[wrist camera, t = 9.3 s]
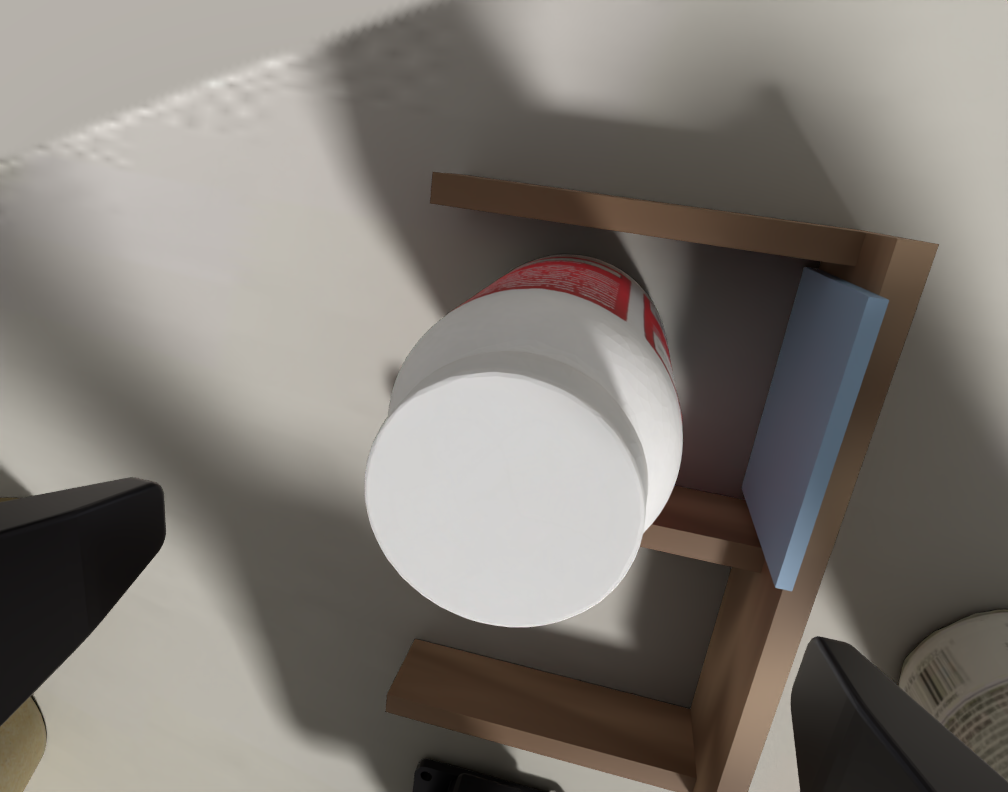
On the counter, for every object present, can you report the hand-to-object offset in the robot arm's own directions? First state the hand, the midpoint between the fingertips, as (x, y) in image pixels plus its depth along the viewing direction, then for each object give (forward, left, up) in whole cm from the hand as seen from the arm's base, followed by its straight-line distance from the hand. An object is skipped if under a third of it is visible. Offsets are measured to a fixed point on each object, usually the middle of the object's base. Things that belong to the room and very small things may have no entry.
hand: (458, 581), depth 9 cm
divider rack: (-4, -2, -13) cm, 14 cm away
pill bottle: (0, 0, -13) cm, 13 cm away
